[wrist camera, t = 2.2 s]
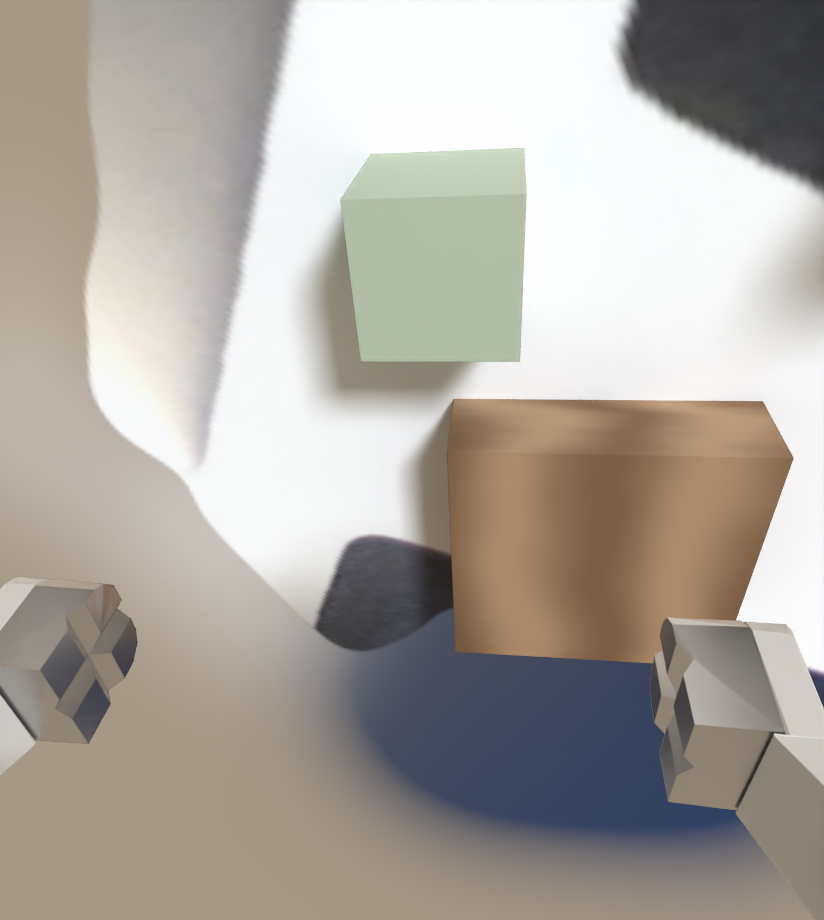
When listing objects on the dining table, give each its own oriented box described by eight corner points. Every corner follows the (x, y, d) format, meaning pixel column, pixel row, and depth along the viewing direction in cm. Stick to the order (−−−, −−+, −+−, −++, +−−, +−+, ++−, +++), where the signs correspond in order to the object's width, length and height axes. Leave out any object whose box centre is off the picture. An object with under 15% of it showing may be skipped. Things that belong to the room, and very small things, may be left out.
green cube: (384, 295, 25) (360, 361, 21) (371, 153, 22) (340, 199, 18) (519, 294, 24) (520, 361, 20) (524, 147, 21) (526, 193, 17)
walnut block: (460, 588, 35) (455, 651, 32) (454, 394, 28) (446, 451, 25) (699, 598, 33) (719, 666, 30) (759, 396, 26) (793, 458, 23)
